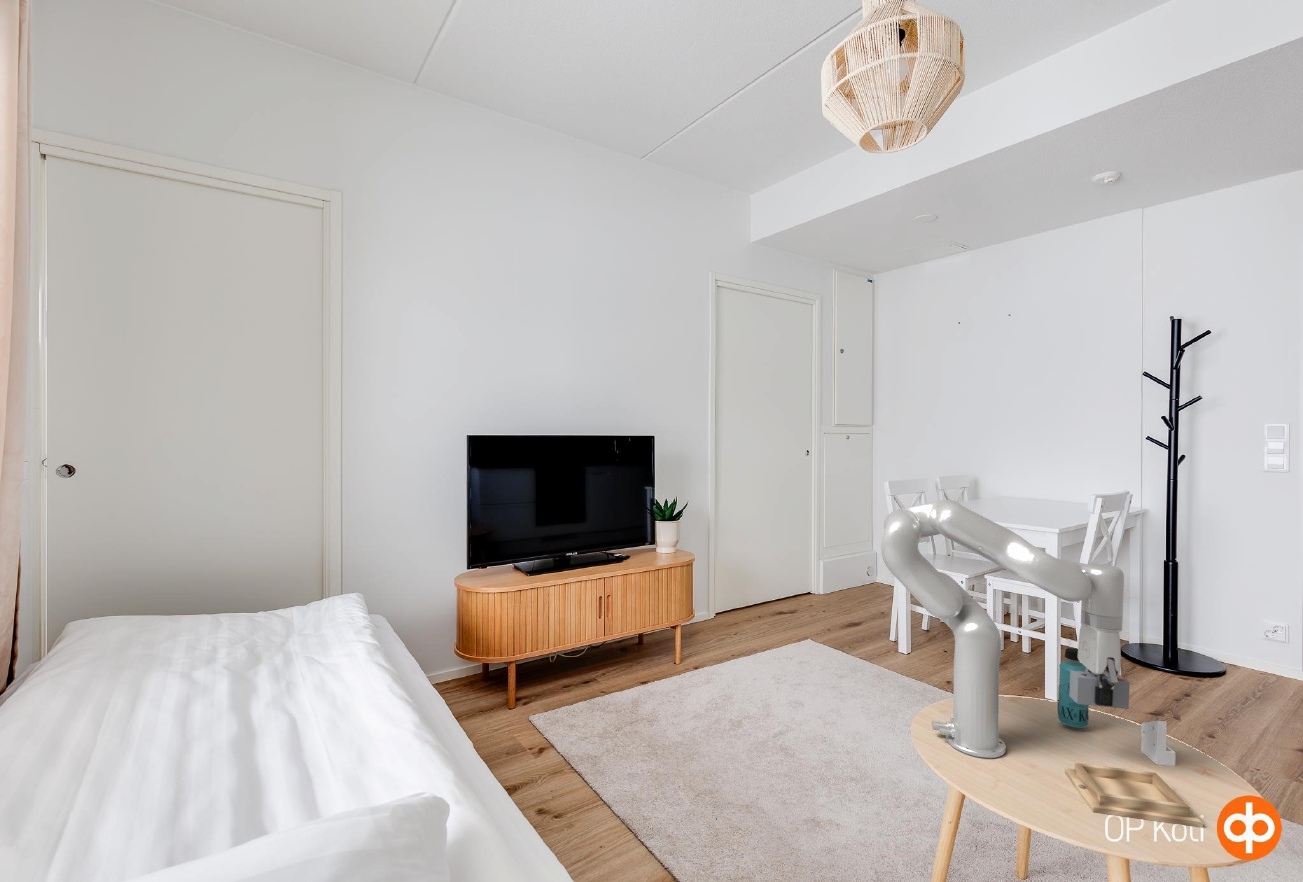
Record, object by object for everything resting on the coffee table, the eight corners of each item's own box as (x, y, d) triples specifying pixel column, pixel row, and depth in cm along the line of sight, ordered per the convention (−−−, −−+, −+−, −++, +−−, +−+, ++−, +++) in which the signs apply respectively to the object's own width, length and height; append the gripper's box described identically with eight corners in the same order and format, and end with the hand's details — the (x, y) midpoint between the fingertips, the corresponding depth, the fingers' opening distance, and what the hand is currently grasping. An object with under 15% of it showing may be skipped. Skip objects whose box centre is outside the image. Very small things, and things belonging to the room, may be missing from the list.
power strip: (1077, 703, 136) (1078, 676, 135) (1069, 695, 139) (1070, 669, 139) (1128, 709, 133) (1129, 681, 133) (1119, 701, 137) (1120, 673, 137)
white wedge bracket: (1169, 764, 132) (1157, 720, 136) (1144, 764, 141) (1134, 723, 145) (1188, 766, 131) (1175, 722, 135) (1162, 766, 140) (1151, 725, 144)
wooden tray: (1093, 812, 120) (1093, 797, 119) (1064, 772, 133) (1064, 759, 133) (1202, 827, 115) (1202, 811, 115) (1161, 784, 128) (1161, 771, 128)
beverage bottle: (1052, 720, 156) (1053, 644, 156) (1080, 722, 155) (1081, 645, 155) (1065, 733, 150) (1067, 653, 149) (1095, 735, 149) (1096, 655, 148)
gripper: (1067, 607, 145) (1064, 682, 145) (1099, 630, 129) (1096, 715, 129) (1103, 610, 143) (1100, 686, 143) (1140, 634, 127) (1137, 720, 127)
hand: (1098, 699), depth 136 cm, fingers closed on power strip, 4 cm apart
